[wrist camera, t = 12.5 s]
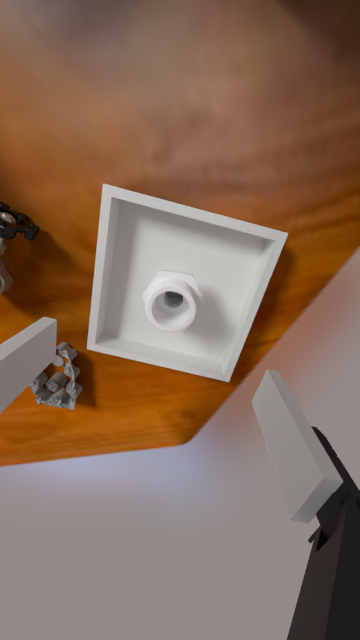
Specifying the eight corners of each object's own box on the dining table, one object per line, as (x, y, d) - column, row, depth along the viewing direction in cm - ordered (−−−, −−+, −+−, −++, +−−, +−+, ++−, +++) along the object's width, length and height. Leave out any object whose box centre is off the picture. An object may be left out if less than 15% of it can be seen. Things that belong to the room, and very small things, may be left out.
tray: (114, 189, 27) (103, 183, 24) (275, 232, 28) (288, 233, 25) (97, 336, 35) (86, 349, 31) (224, 365, 36) (228, 382, 32)
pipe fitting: (211, 283, 30) (218, 302, 23) (177, 322, 32) (174, 351, 25) (172, 252, 29) (166, 261, 21) (140, 295, 31) (125, 317, 24)
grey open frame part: (33, 336, 36) (14, 349, 32) (81, 342, 36) (67, 355, 32) (41, 392, 40) (26, 409, 36) (85, 397, 40) (73, 414, 36)
